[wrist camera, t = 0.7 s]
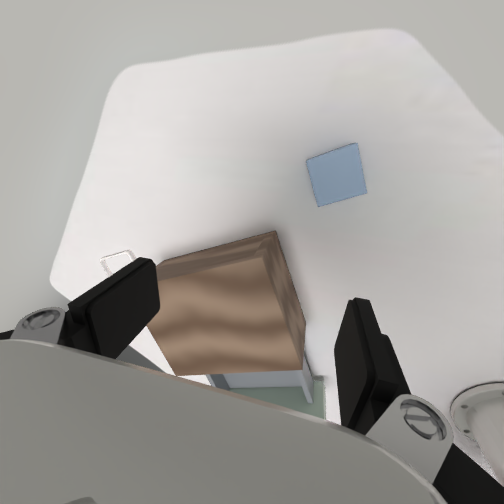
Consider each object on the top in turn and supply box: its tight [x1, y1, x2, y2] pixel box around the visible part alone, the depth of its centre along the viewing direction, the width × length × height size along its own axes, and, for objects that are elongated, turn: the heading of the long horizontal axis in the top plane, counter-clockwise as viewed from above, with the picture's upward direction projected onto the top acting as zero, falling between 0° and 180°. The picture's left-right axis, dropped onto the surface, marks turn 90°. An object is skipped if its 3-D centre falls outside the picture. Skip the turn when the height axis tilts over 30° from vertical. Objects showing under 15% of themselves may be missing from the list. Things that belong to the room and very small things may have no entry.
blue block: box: [306, 143, 367, 207], centre depth 26 cm, size 5×5×4 cm
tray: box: [206, 356, 326, 420], centre depth 38 cm, size 16×20×8 cm
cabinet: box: [146, 231, 306, 376], centre depth 35 cm, size 16×20×9 cm
